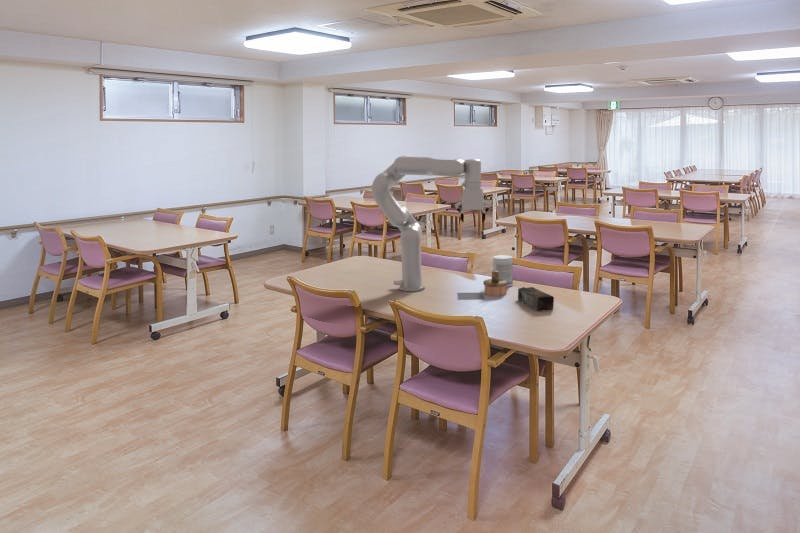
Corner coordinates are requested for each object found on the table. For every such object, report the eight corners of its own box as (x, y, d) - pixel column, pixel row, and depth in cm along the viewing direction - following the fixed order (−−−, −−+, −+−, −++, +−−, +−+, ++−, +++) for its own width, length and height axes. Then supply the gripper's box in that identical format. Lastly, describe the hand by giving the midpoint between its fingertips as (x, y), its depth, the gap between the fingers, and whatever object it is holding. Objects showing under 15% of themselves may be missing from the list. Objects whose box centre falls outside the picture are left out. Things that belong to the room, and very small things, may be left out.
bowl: (485, 297, 281) (485, 286, 280) (484, 291, 291) (484, 281, 290) (507, 296, 281) (507, 286, 280) (505, 291, 290) (505, 281, 289)
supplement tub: (516, 286, 300) (516, 256, 296) (502, 289, 295) (502, 259, 291) (503, 282, 308) (503, 254, 304) (488, 285, 303) (489, 256, 299)
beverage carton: (533, 299, 277) (533, 285, 275) (554, 310, 259) (554, 295, 257) (517, 300, 275) (517, 286, 273) (537, 312, 257) (537, 297, 255)
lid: (484, 286, 280) (484, 274, 278) (482, 281, 290) (482, 269, 289) (508, 286, 279) (508, 274, 278) (505, 280, 290) (506, 268, 288)
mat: (457, 300, 276) (457, 299, 276) (457, 293, 288) (457, 292, 288) (484, 300, 276) (484, 299, 275) (482, 293, 287) (482, 292, 287)
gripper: (454, 186, 282) (454, 223, 286) (491, 186, 281) (491, 222, 285) (454, 185, 290) (454, 220, 293) (490, 184, 288) (490, 220, 292)
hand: (472, 221), depth 289 cm, fingers open, 9 cm apart
